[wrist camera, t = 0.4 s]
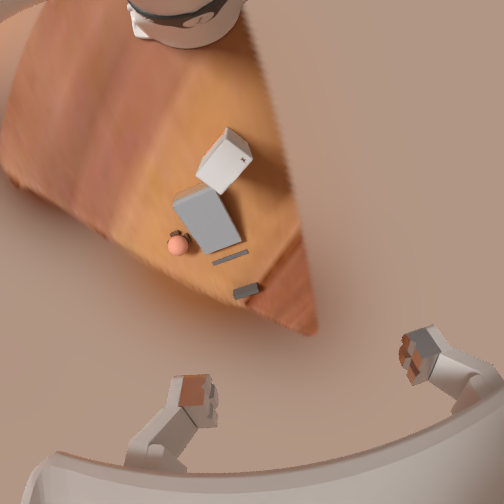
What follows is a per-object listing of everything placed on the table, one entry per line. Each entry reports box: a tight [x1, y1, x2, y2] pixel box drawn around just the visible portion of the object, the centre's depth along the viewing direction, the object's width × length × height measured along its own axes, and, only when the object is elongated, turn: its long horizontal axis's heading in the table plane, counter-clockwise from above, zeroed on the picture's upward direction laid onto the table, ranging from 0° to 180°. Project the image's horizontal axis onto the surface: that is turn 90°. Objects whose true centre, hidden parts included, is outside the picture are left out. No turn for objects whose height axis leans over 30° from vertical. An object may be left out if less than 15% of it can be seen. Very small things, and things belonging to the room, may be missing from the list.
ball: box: [168, 235, 188, 256], centre depth 48 cm, size 4×4×4 cm
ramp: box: [173, 182, 242, 254], centre depth 46 cm, size 12×7×4 cm, turn 20°
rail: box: [233, 282, 259, 300], centre depth 56 cm, size 1×5×2 cm, turn 110°
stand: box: [167, 230, 191, 250], centre depth 49 cm, size 4×4×1 cm
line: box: [212, 250, 248, 265], centre depth 52 cm, size 1×7×1 cm, turn 110°
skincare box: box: [196, 127, 253, 195], centre depth 37 cm, size 6×4×12 cm
